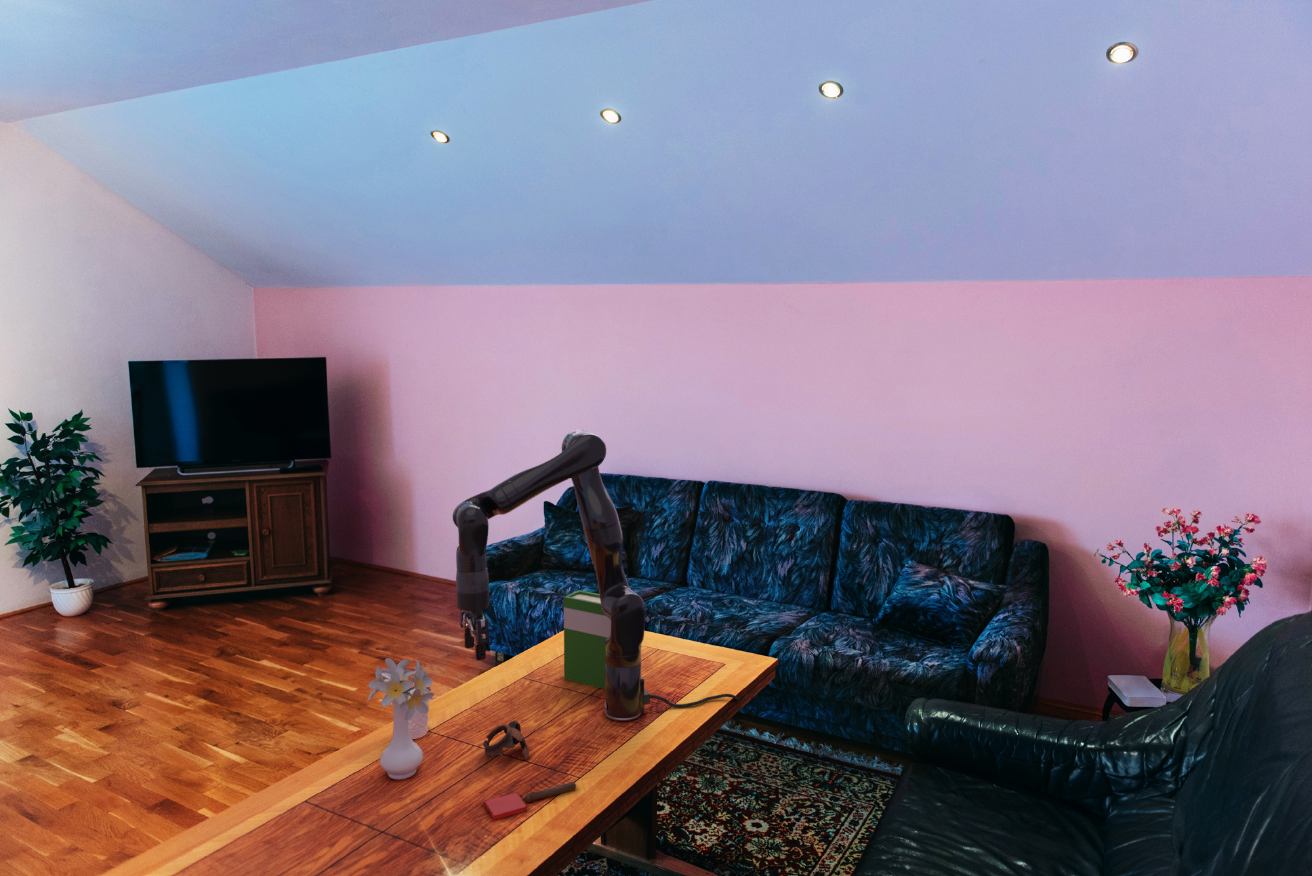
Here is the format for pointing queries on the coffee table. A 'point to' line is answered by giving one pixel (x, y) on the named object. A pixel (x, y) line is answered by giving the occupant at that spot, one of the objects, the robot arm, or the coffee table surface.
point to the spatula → (515, 804)
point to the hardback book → (585, 638)
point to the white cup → (418, 722)
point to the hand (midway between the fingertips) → (475, 653)
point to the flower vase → (402, 714)
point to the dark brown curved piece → (506, 740)
